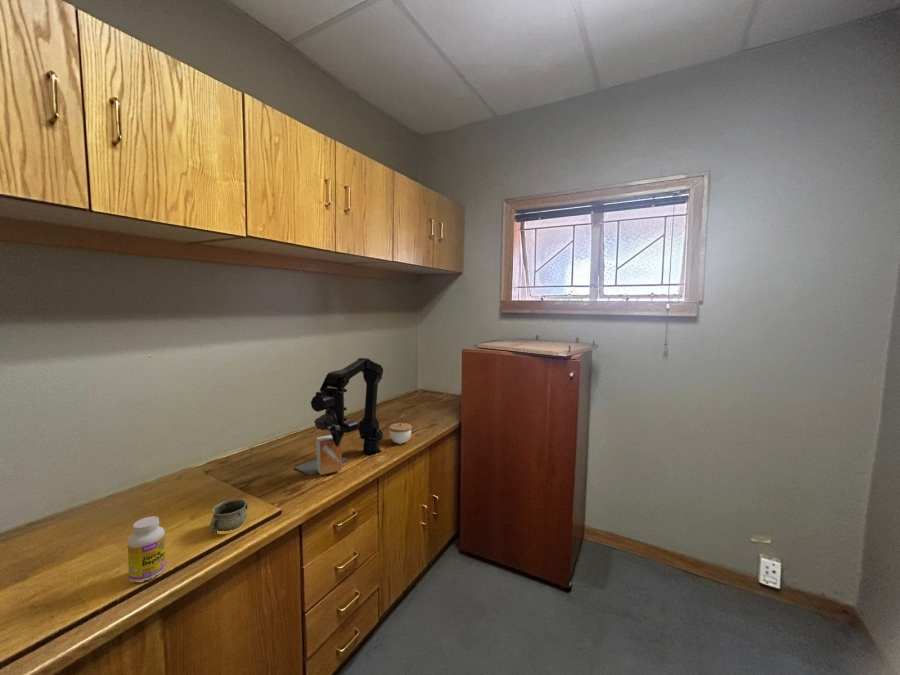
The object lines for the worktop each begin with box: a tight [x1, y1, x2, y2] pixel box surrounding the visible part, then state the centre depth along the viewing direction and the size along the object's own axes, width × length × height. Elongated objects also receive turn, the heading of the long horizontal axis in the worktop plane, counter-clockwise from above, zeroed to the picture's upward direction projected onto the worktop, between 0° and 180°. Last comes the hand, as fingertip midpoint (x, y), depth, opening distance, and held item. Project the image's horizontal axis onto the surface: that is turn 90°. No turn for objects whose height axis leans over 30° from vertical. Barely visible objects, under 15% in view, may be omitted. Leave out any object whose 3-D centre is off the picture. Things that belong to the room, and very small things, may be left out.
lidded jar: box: [389, 422, 413, 445], centre depth 172 cm, size 11×11×9 cm
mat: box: [294, 455, 350, 477], centre depth 146 cm, size 18×11×1 cm, turn 146°
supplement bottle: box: [127, 516, 166, 583], centre depth 84 cm, size 7×7×13 cm
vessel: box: [209, 498, 249, 535], centre depth 103 cm, size 12×9×6 cm
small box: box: [315, 434, 343, 476], centre depth 139 cm, size 8×6×13 cm
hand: (337, 446), depth 136 cm, fingers closed
